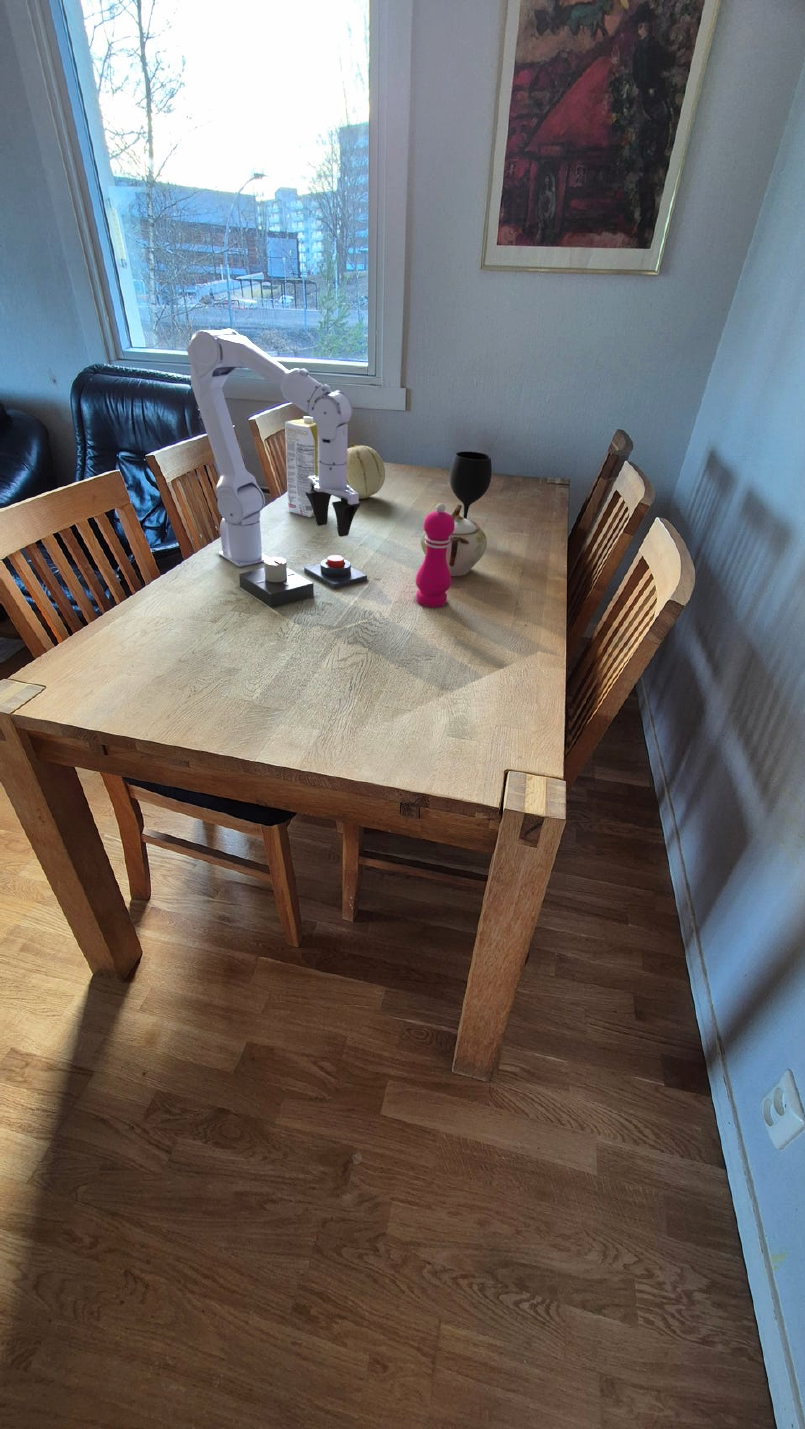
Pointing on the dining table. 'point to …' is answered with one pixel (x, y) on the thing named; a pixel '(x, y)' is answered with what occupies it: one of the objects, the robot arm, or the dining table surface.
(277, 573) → the timer knob
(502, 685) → the dining table surface
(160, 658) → the dining table surface
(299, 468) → the juice carton
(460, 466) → the wine glass
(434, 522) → the pepper mill
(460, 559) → the sugar bowl
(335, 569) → the button block
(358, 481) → the cantaloupe
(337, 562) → the power button
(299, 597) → the panel
